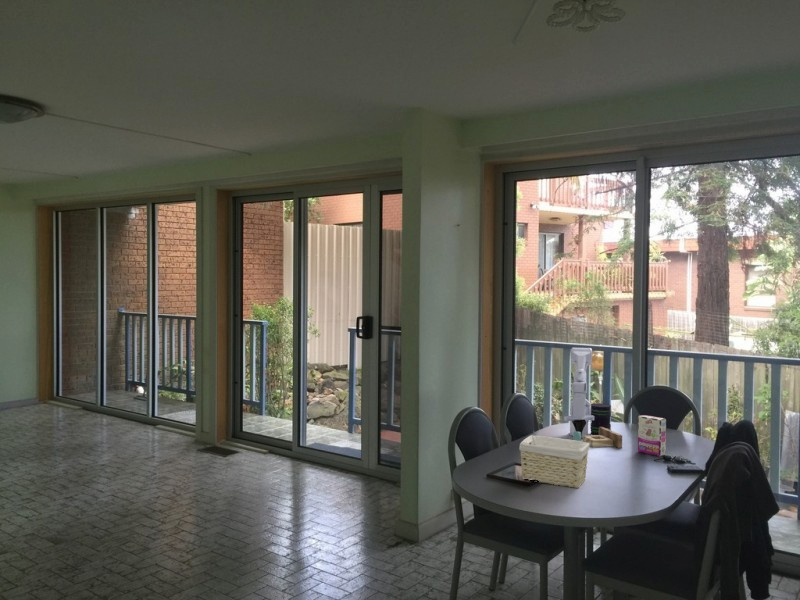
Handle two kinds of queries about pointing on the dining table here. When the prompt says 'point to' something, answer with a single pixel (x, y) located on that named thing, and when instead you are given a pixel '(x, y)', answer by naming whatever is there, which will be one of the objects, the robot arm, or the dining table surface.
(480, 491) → the dining table surface
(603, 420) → the storage jar
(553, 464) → the storage basket
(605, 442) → the light wooden square frame
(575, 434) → the dowel
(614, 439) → the backstop wall
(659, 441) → the candy bar box
